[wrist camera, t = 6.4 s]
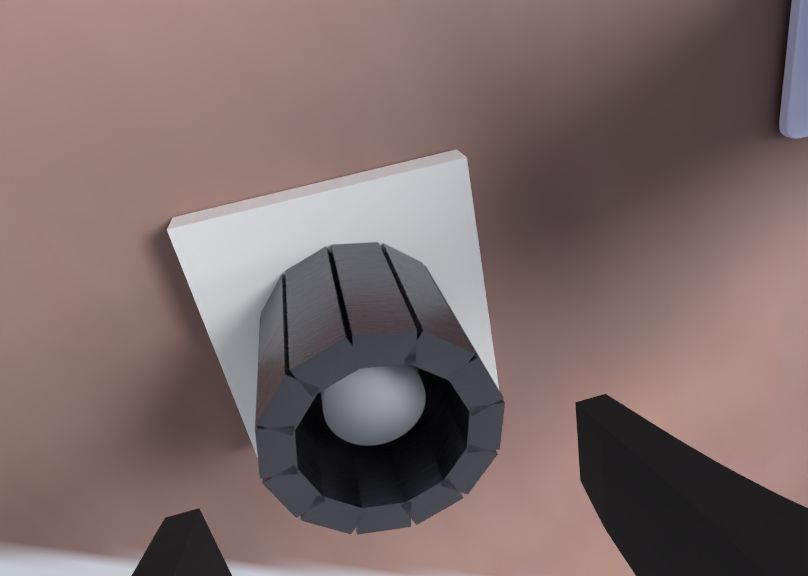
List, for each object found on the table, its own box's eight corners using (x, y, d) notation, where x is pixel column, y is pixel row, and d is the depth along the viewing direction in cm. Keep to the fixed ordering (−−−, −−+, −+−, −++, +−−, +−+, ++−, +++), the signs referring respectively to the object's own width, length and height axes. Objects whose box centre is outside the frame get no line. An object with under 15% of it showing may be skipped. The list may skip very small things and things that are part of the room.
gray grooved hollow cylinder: (450, 238, 17) (513, 321, 12) (441, 396, 19) (492, 514, 15) (253, 248, 16) (245, 343, 11) (269, 414, 18) (267, 547, 14)
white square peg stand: (456, 149, 17) (522, 200, 12) (489, 377, 20) (550, 480, 16) (173, 217, 16) (134, 298, 12) (259, 441, 20) (255, 568, 15)
